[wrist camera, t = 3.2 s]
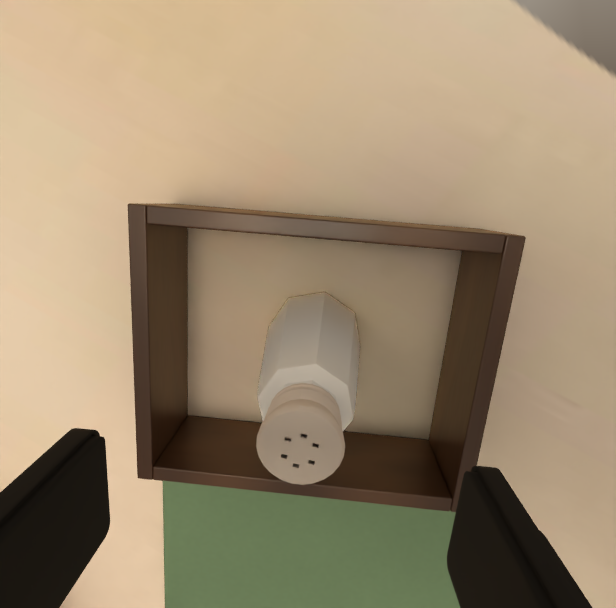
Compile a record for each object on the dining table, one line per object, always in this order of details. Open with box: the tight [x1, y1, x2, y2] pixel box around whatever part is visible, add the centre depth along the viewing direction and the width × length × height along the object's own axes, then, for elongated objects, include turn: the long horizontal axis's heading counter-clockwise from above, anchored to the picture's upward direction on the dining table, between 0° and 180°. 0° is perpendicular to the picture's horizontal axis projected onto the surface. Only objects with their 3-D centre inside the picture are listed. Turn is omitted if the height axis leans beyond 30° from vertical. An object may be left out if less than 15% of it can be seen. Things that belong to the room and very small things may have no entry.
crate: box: [128, 204, 525, 512], centre depth 20 cm, size 17×14×5 cm
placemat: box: [163, 481, 460, 608], centre depth 26 cm, size 22×12×1 cm, turn 85°
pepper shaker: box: [256, 292, 360, 485], centre depth 17 cm, size 5×5×11 cm
